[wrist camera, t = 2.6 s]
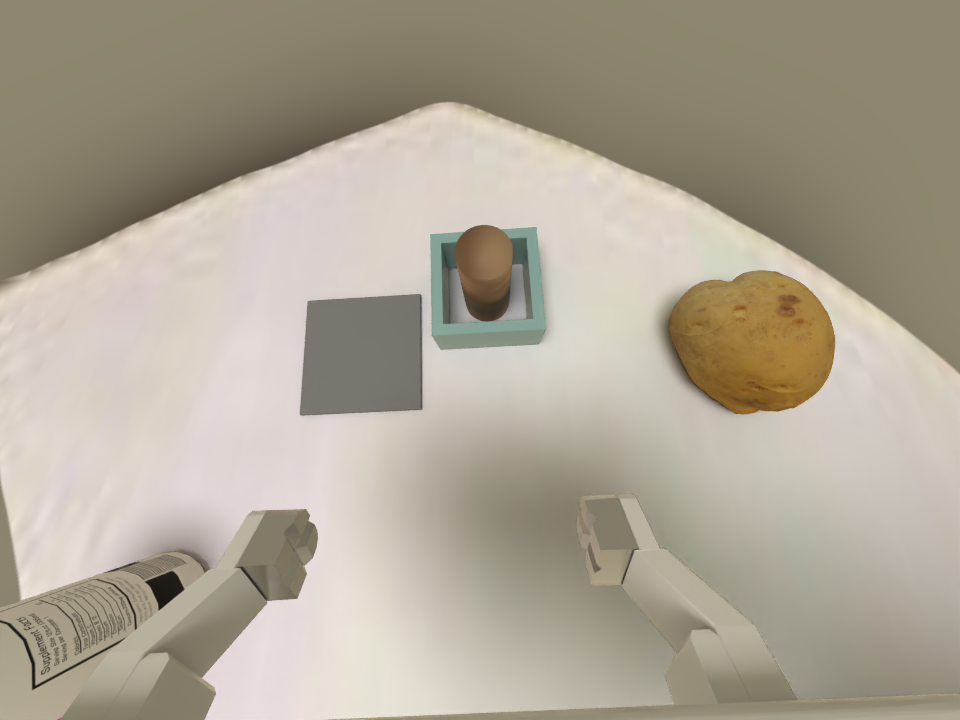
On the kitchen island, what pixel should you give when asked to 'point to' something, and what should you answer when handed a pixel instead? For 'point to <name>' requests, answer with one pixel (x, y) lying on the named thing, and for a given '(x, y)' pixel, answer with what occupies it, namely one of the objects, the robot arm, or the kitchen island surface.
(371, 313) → the mat
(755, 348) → the potato
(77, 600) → the supplement can
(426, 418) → the kitchen island surface
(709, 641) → the robot arm
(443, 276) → the tub
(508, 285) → the walnut peg
